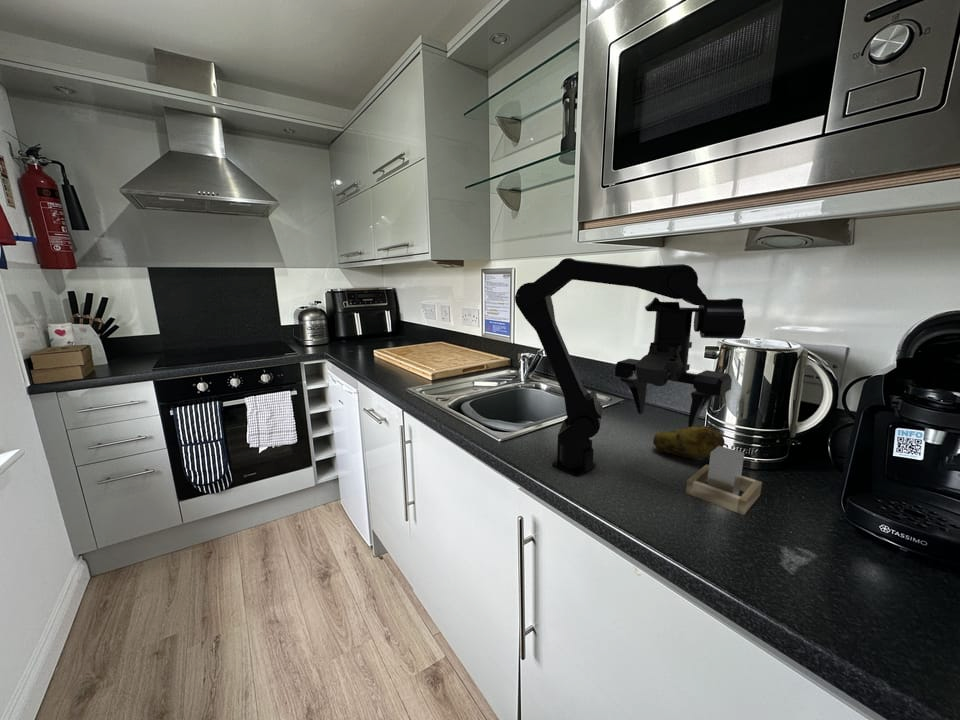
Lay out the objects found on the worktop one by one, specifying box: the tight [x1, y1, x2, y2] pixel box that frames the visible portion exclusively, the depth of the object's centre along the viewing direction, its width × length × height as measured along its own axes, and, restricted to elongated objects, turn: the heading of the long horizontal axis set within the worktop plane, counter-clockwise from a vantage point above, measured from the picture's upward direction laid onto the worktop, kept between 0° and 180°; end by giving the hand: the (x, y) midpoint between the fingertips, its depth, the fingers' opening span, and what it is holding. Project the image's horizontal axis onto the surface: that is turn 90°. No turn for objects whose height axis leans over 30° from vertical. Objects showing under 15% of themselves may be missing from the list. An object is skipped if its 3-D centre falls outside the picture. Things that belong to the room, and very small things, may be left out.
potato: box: [652, 425, 726, 459], centre depth 82 cm, size 8×13×8 cm, turn 26°
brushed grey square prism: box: [706, 446, 745, 496], centre depth 68 cm, size 4×4×8 cm
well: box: [685, 464, 763, 516], centre depth 68 cm, size 9×9×2 cm
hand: (664, 419), depth 72 cm, fingers open, 9 cm apart
